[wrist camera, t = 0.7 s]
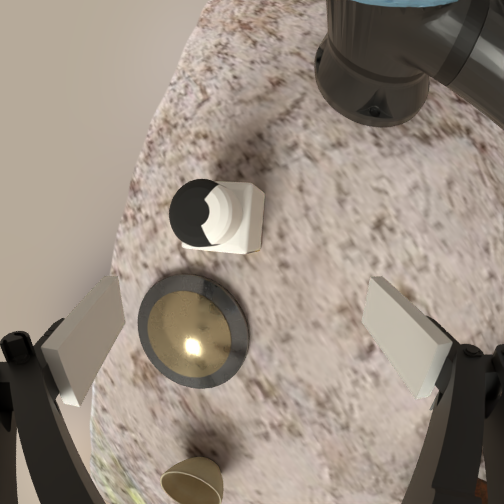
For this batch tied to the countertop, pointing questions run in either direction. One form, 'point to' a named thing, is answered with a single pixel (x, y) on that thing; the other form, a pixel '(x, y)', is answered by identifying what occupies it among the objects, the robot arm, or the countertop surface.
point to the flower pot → (194, 482)
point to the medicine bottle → (218, 216)
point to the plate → (193, 331)
